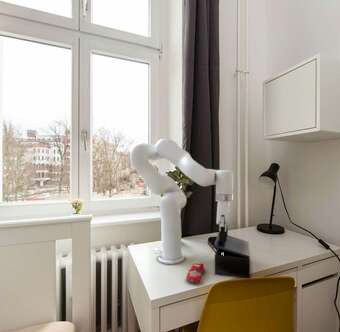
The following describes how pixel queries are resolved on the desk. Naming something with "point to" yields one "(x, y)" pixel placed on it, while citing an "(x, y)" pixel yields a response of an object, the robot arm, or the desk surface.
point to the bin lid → (233, 245)
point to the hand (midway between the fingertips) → (223, 238)
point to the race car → (196, 273)
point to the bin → (231, 264)
